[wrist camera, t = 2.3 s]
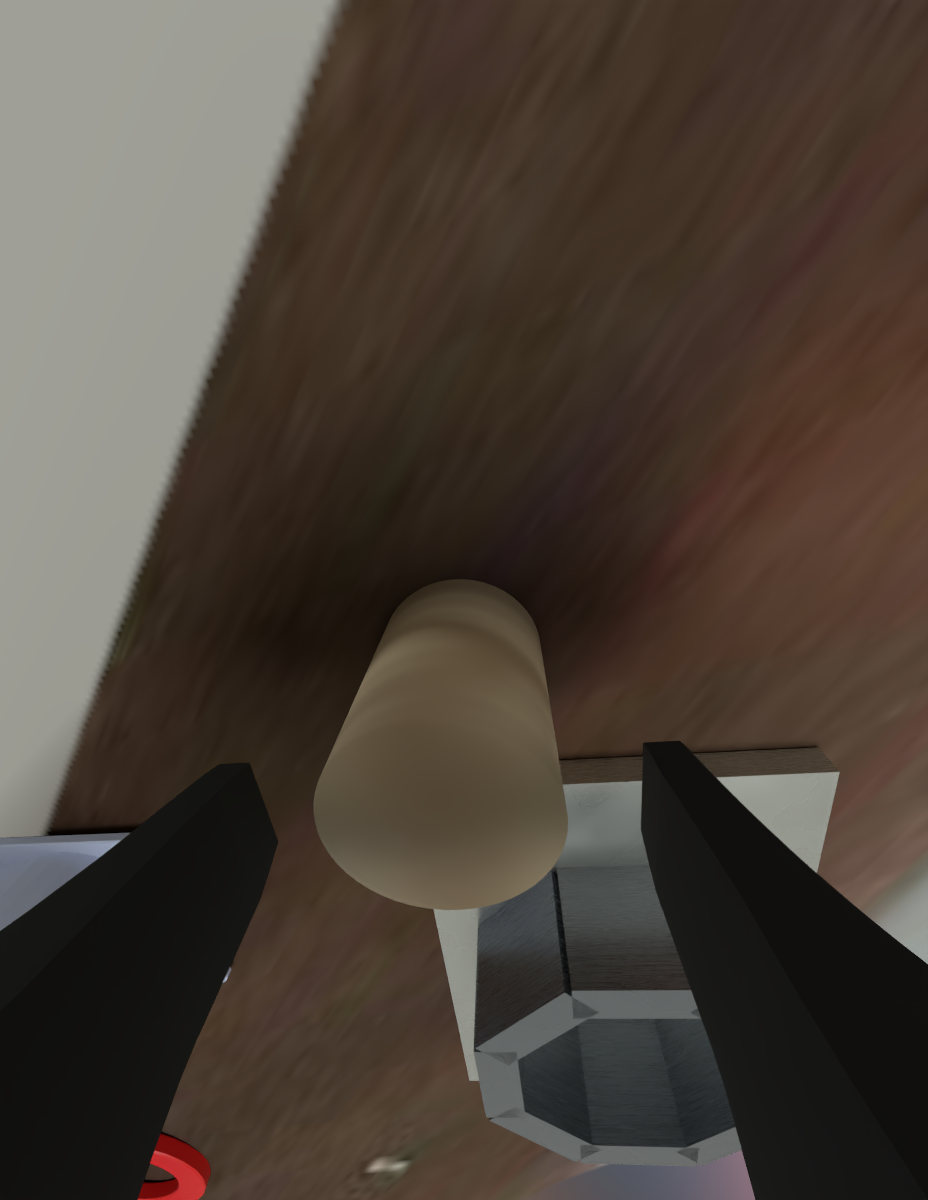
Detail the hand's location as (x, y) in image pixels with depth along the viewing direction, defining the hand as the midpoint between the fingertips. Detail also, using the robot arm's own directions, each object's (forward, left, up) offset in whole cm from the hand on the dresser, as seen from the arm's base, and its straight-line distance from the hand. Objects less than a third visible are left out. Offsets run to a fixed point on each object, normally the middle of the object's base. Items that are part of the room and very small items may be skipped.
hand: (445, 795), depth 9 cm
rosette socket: (+4, -12, -5) cm, 14 cm away
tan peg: (0, 0, -5) cm, 5 cm away
